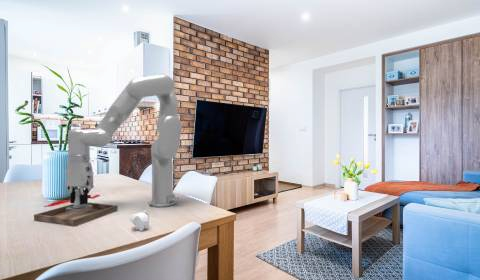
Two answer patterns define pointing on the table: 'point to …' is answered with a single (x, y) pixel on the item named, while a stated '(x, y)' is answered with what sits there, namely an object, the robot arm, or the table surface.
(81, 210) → the metal socket
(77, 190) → the rook chess piece
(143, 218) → the elephant figurine
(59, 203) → the cloth
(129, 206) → the table surface
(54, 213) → the walnut box
